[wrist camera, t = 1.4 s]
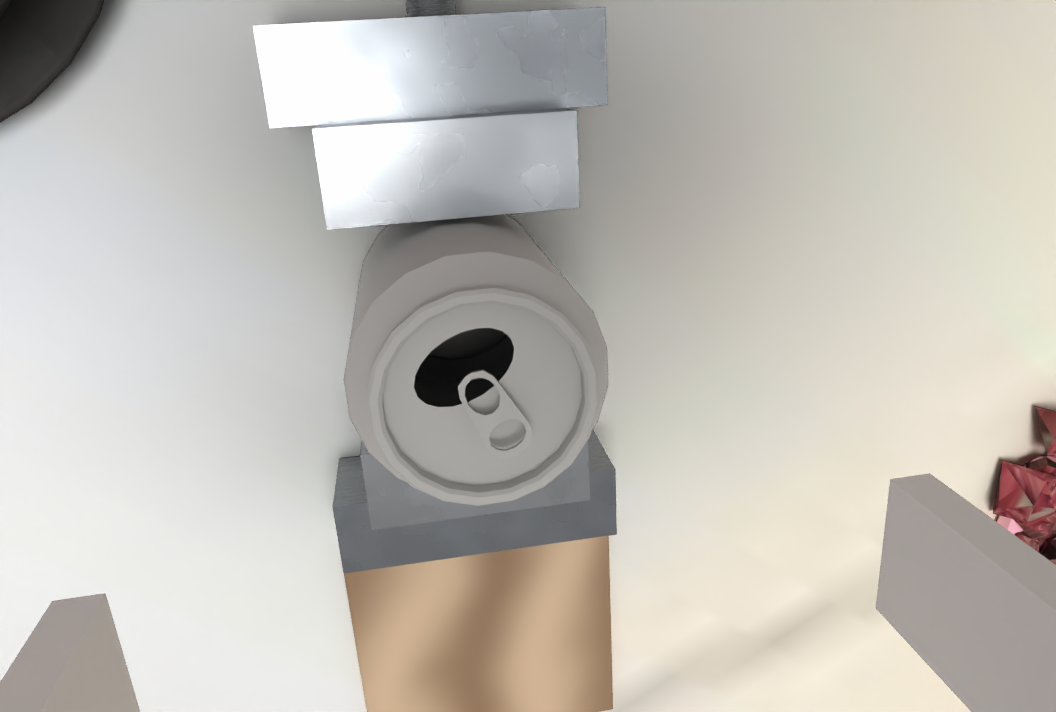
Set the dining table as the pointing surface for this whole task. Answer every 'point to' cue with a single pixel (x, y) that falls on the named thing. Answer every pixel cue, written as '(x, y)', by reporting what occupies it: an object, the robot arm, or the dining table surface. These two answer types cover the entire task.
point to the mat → (487, 631)
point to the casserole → (39, 45)
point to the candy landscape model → (1031, 494)
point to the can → (471, 360)
